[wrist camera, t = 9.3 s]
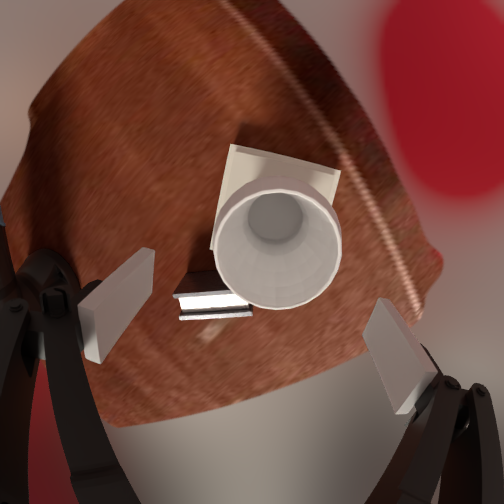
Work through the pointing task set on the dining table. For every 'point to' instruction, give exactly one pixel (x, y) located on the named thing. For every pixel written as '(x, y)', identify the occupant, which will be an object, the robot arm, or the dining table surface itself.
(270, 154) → the pedestal
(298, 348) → the dining table surface
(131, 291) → the robot arm
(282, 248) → the cup
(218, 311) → the napkin holder
